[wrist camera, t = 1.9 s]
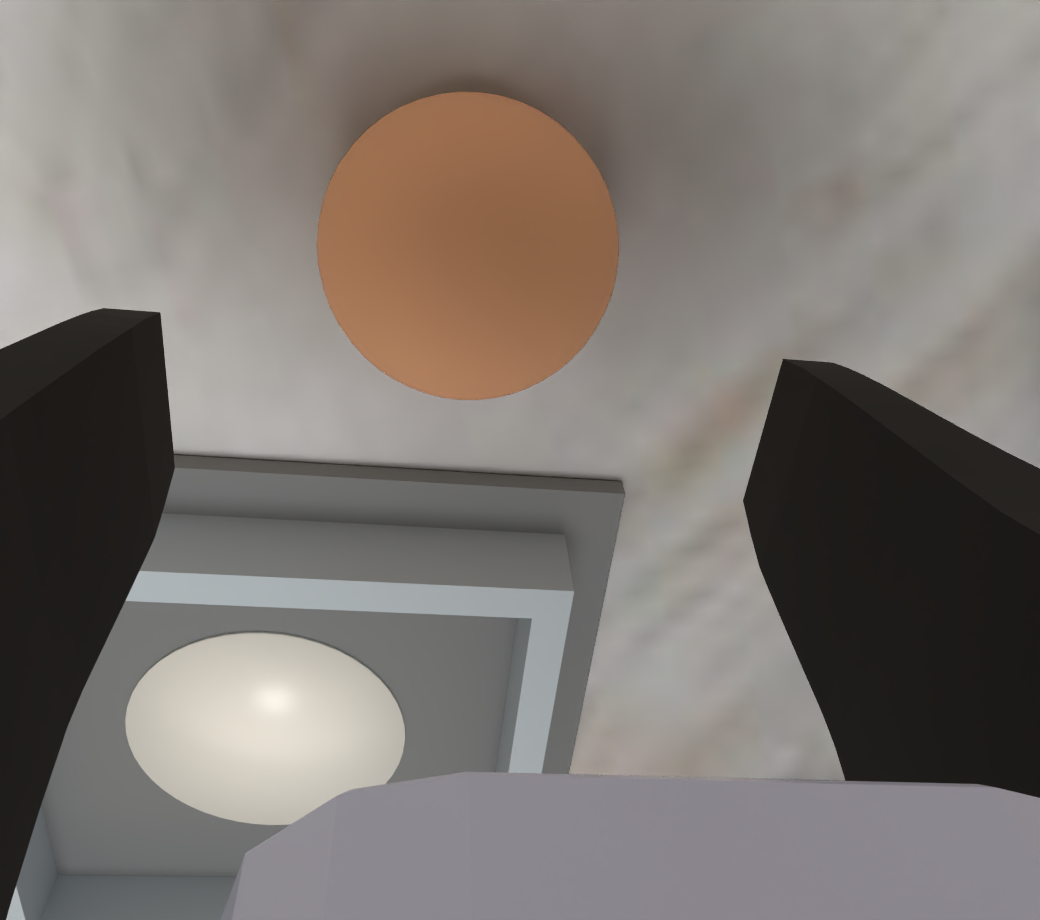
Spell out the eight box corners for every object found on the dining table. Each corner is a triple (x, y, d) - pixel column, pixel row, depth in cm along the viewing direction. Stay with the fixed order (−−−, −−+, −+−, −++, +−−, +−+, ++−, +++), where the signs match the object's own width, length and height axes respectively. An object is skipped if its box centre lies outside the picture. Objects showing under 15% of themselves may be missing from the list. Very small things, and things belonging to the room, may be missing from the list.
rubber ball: (617, 80, 17) (671, 152, 13) (578, 335, 20) (613, 465, 16) (334, 50, 17) (294, 115, 12) (332, 316, 19) (299, 445, 15)
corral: (621, 481, 22) (639, 548, 20) (537, 906, 30) (544, 985, 28) (-131, 436, 20) (-199, 504, 18) (2, 900, 28) (-34, 984, 26)
